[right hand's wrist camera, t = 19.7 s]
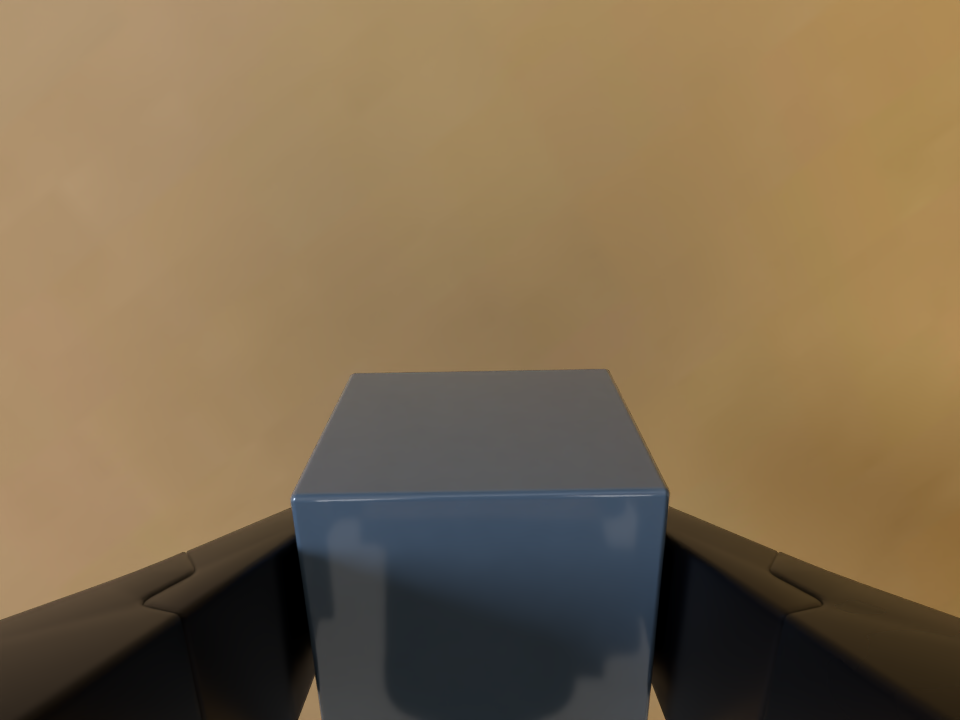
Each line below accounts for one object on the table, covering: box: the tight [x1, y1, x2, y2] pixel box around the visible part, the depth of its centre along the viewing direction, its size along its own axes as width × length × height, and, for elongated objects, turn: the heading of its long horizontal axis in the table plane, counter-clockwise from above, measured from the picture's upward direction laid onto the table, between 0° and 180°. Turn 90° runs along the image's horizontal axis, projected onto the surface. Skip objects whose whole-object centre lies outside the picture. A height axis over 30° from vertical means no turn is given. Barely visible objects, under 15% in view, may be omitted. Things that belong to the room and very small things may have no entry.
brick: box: [290, 369, 670, 720], centre depth 10 cm, size 5×4×4 cm
